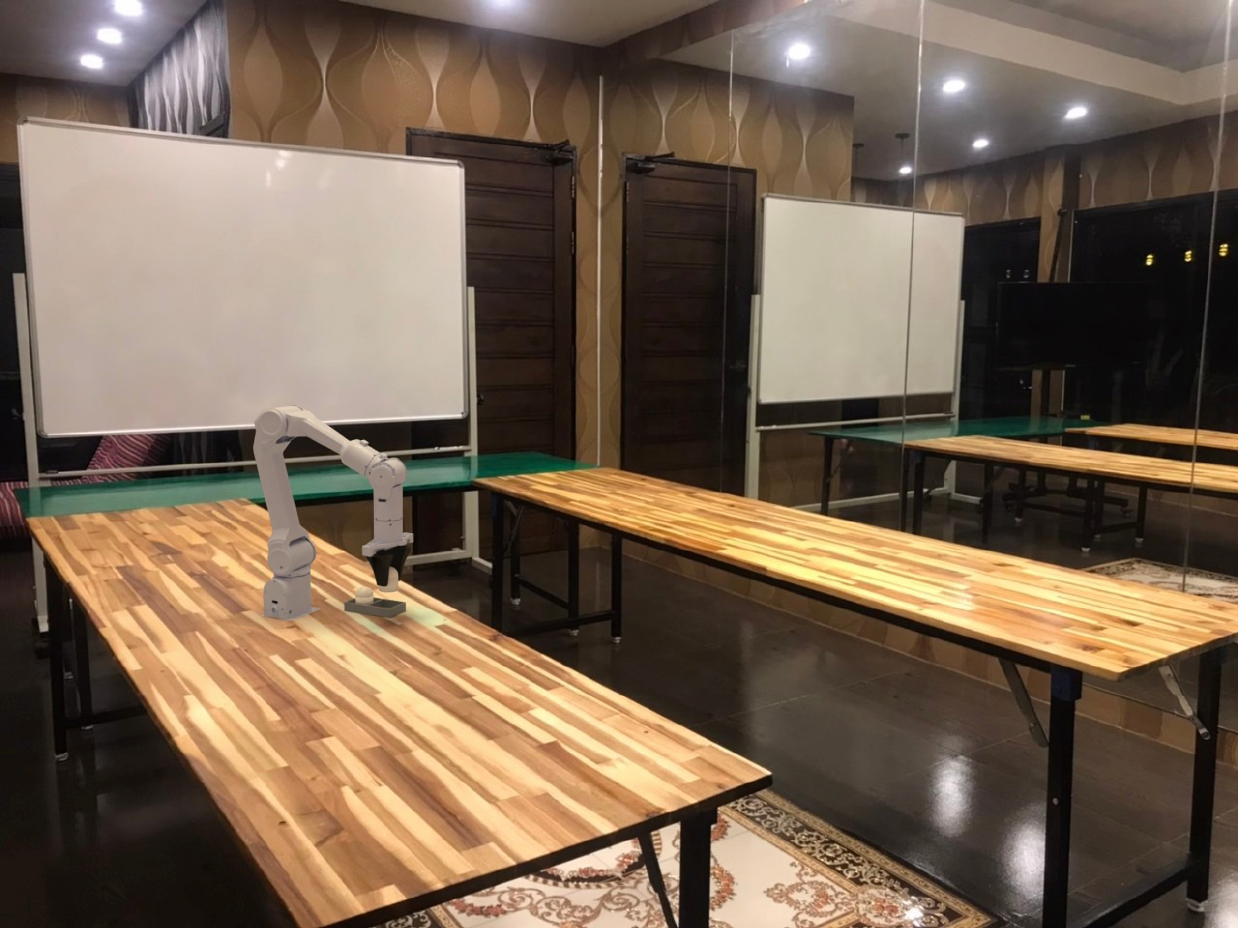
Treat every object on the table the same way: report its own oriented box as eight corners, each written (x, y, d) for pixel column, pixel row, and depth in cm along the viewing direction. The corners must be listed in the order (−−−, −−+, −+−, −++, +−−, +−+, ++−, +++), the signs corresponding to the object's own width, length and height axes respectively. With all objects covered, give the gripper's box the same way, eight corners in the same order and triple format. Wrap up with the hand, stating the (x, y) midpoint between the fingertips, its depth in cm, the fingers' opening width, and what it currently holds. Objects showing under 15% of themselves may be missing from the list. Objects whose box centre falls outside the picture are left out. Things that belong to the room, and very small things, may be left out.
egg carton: (389, 619, 195) (389, 609, 195) (344, 612, 200) (344, 602, 199) (405, 612, 201) (405, 602, 200) (361, 605, 205) (361, 595, 205)
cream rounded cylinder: (390, 593, 190) (390, 570, 190) (375, 590, 192) (375, 567, 191) (401, 588, 194) (401, 565, 193) (386, 586, 195) (386, 563, 195)
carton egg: (366, 612, 199) (366, 589, 198) (351, 609, 200) (351, 587, 199) (377, 607, 202) (376, 585, 201) (362, 605, 204) (362, 583, 203)
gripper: (382, 527, 183) (383, 594, 185) (425, 514, 196) (425, 577, 198) (353, 523, 185) (353, 589, 187) (397, 511, 199) (397, 573, 201)
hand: (388, 583), depth 193 cm, fingers closed on cream rounded cylinder, 4 cm apart
